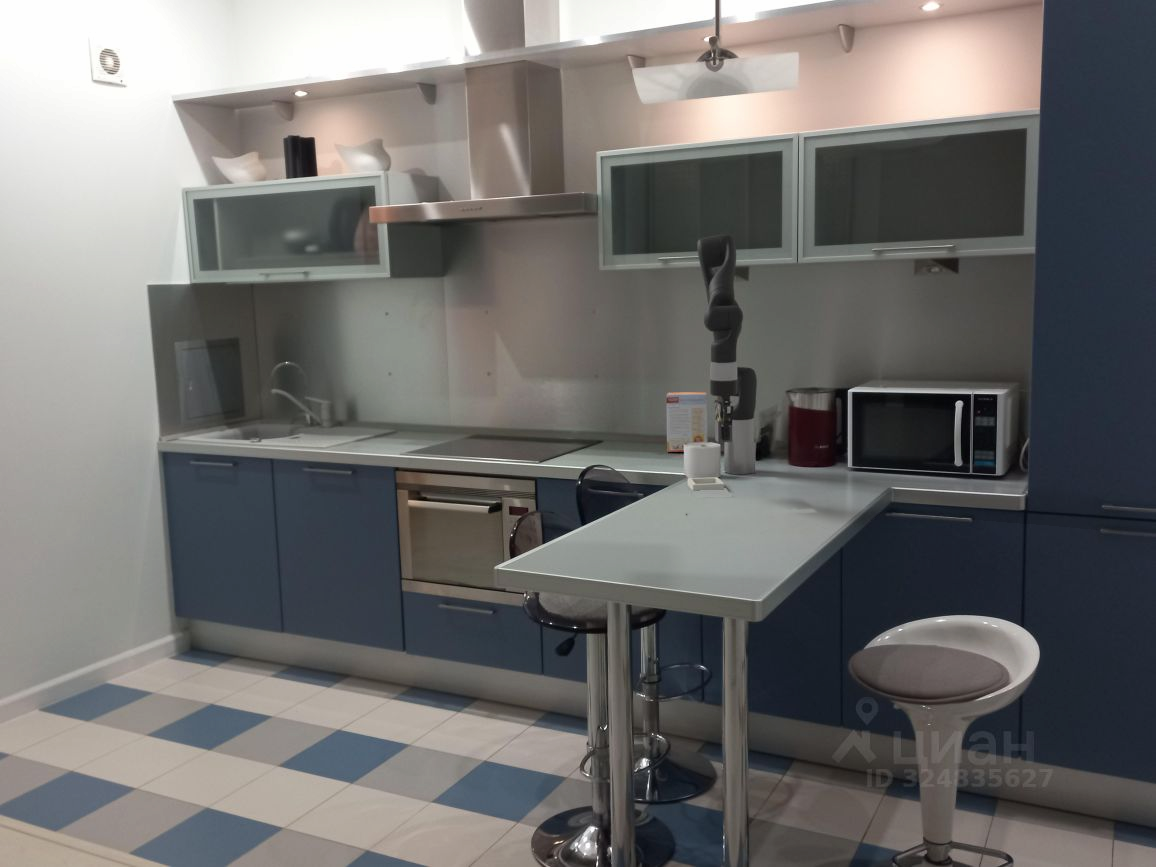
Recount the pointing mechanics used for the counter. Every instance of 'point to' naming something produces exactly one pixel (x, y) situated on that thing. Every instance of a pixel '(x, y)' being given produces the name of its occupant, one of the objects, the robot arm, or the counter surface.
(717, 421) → the plug
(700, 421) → the cracker box
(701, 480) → the cream rectangular tray
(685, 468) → the toilet tissue
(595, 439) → the counter surface
